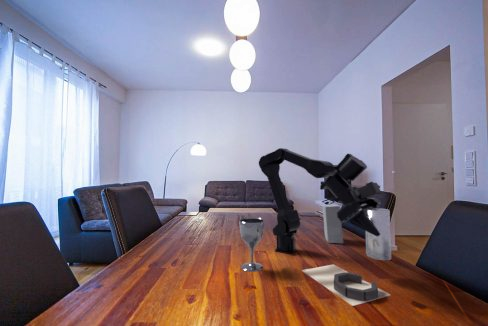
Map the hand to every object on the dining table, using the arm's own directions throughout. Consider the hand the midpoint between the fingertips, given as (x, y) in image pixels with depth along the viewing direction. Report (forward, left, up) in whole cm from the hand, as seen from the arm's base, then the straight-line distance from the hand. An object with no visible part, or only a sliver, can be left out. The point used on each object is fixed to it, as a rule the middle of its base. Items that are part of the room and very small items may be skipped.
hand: (383, 233), depth 61 cm
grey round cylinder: (-1, 0, -7) cm, 7 cm away
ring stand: (-10, -7, -13) cm, 18 cm away
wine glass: (-37, -9, -14) cm, 40 cm away
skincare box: (-19, +33, -14) cm, 40 cm away
